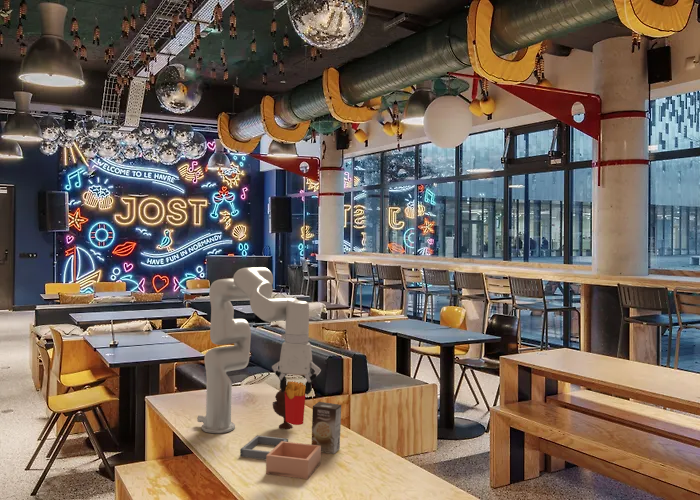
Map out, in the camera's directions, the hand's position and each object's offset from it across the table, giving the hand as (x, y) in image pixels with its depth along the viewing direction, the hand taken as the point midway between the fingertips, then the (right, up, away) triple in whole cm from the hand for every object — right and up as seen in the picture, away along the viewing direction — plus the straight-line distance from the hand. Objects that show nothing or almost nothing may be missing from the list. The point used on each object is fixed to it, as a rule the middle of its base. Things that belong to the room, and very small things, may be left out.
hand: (295, 392), depth 205 cm
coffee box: (+9, -25, +19) cm, 33 cm away
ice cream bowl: (-8, -24, +43) cm, 50 cm away
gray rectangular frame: (-12, -24, +16) cm, 32 cm away
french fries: (0, -10, 0) cm, 10 cm away
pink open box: (-1, -25, +1) cm, 25 cm away
